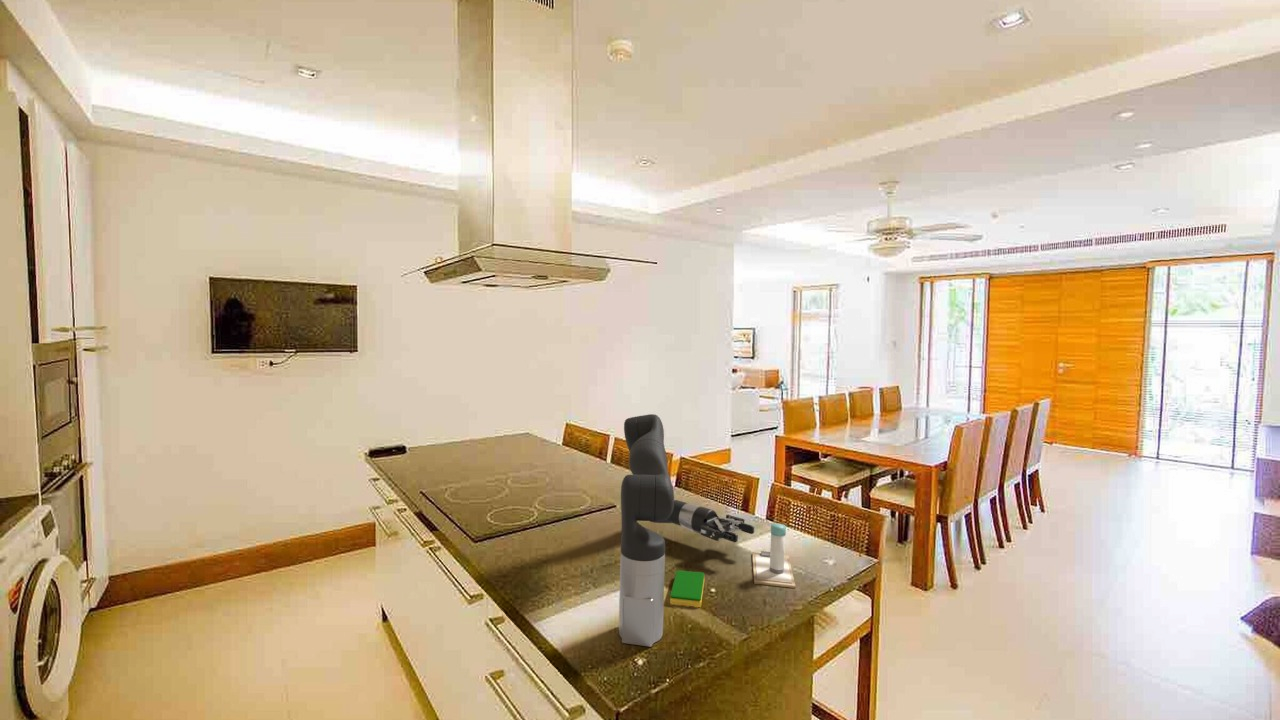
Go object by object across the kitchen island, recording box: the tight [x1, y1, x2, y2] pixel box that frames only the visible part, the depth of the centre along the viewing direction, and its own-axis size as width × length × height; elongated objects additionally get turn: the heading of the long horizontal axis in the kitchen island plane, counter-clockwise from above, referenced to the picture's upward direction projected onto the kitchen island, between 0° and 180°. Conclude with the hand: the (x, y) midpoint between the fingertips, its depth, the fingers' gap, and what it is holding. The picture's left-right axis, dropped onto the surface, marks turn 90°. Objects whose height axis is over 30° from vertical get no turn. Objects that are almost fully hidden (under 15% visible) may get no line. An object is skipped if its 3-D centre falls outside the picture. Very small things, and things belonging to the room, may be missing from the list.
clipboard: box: [752, 550, 796, 589], centre depth 140 cm, size 18×10×1 cm, turn 169°
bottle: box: [769, 522, 787, 574], centre depth 138 cm, size 4×4×12 cm
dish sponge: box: [669, 569, 705, 608], centre depth 127 cm, size 7×14×2 cm, turn 169°
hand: (745, 534), depth 144 cm, fingers open, 8 cm apart
